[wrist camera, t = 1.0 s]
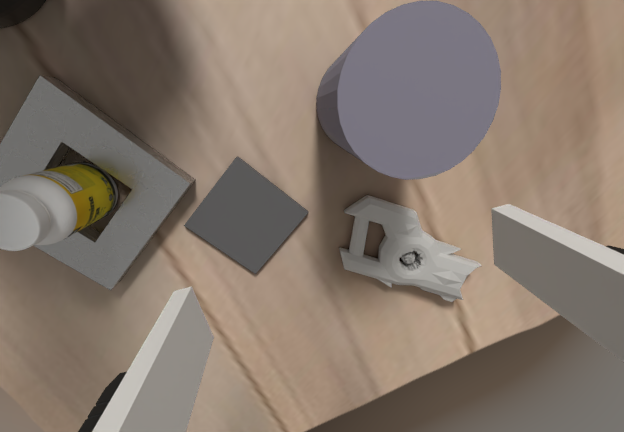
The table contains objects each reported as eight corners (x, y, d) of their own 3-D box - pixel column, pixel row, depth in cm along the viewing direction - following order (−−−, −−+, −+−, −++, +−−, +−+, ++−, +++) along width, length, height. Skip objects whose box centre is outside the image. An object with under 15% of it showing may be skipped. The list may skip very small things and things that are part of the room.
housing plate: (-18, 200, 34) (-36, 206, 32) (54, 77, 31) (39, 75, 29) (119, 281, 38) (110, 290, 36) (195, 179, 35) (190, 183, 33)
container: (320, 43, 32) (347, -11, 18) (420, 54, 33) (521, 11, 19) (312, 148, 35) (328, 174, 21) (402, 155, 36) (478, 184, 22)
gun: (502, 242, 36) (463, 313, 39) (486, 231, 40) (451, 297, 43) (354, 194, 34) (324, 273, 37) (350, 187, 38) (322, 260, 41)
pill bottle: (103, 227, 36) (28, 275, 26) (49, 195, 34) (-54, 232, 24) (131, 184, 35) (63, 216, 24) (76, 149, 33) (-21, 167, 23)
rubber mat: (185, 223, 36) (184, 225, 36) (237, 156, 35) (236, 156, 34) (255, 271, 39) (255, 274, 38) (307, 211, 37) (308, 212, 37)
